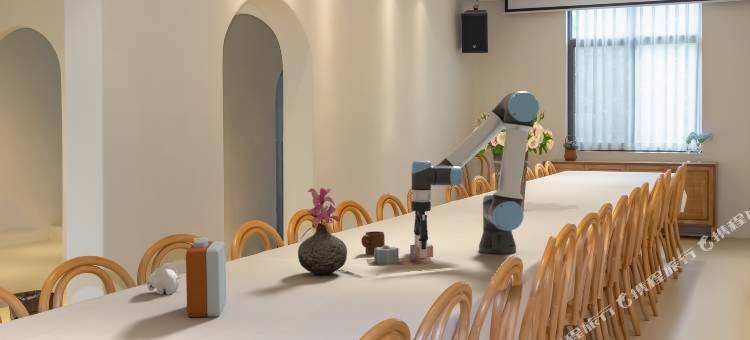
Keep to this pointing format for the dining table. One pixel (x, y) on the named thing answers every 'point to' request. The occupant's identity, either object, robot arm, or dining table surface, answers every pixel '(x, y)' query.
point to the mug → (373, 241)
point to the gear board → (404, 259)
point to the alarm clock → (205, 278)
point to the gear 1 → (386, 255)
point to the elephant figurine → (164, 279)
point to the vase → (322, 240)
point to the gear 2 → (429, 250)
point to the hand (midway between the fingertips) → (420, 255)
